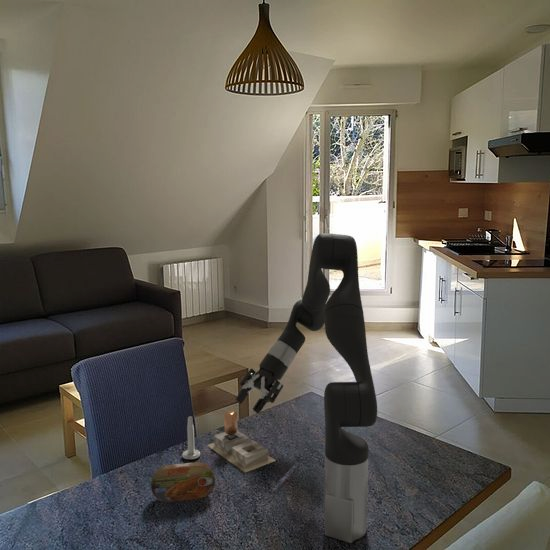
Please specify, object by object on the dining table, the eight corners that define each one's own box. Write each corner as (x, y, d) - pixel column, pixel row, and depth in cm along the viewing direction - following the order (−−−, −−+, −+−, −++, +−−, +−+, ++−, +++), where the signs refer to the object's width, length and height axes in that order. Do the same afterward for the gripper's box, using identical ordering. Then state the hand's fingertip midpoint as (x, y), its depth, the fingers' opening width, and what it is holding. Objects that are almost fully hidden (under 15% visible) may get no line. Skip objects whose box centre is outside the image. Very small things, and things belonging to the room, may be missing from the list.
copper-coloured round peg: (233, 450, 155) (232, 416, 153) (222, 447, 157) (221, 414, 155) (240, 445, 158) (239, 411, 157) (229, 442, 160) (228, 409, 158)
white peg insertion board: (275, 464, 150) (275, 450, 149) (245, 476, 144) (244, 461, 143) (236, 439, 165) (236, 425, 164) (207, 449, 159) (206, 435, 158)
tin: (151, 503, 132) (150, 471, 131) (152, 496, 135) (150, 464, 134) (215, 497, 135) (214, 465, 133) (214, 490, 138) (214, 458, 136)
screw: (198, 455, 155) (202, 463, 151) (180, 458, 153) (184, 466, 149) (196, 411, 153) (201, 417, 149) (179, 413, 151) (183, 420, 147)
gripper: (256, 347, 167) (224, 392, 162) (286, 359, 156) (253, 408, 151) (270, 360, 171) (240, 405, 167) (300, 373, 160) (269, 421, 155)
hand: (246, 406), depth 159 cm, fingers open, 8 cm apart
